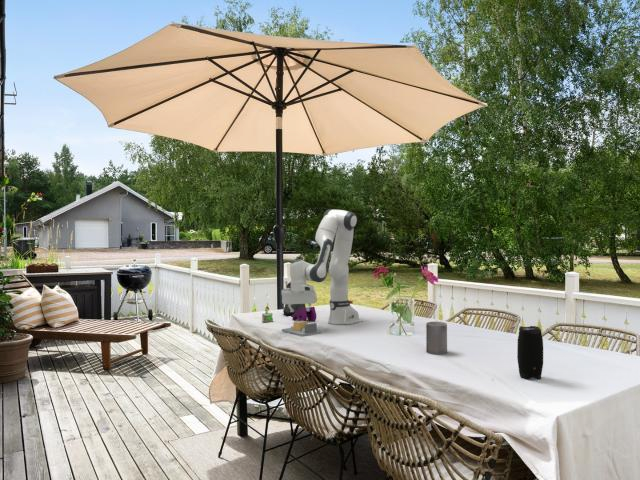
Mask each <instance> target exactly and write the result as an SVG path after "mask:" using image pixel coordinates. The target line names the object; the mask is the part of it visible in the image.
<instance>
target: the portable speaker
mask: <svg viewBox="0 0 640 480" xmlns="http://www.w3.org/2000/svg"><path fill="white" fill-rule="evenodd" d="M516 353H517V356H516V357H517V359H516V360H517V365H518V373H519V376H520V378H521V379H524V380H530V379H532V378H533V379H536V380H541V379H542V373H543V368H544V339H543V334H542V328H540V327H539V326H536V325H530V326H523V325H522V326H519V328H518V337H517V352H516Z"/></svg>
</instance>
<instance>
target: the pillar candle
mask: <svg viewBox="0 0 640 480" xmlns="http://www.w3.org/2000/svg"><path fill="white" fill-rule="evenodd" d="M425 325H426V327H425V328H426V330H425V333H426V337H425V340H426V341H425V344H426V347H425V348H426V350H425V351H426V352H425V353H427V354H431V355H438V356H439V355H445V354H447V353H448V323H446V322H444V321H437V320H436V321H429V322H426V324H425Z"/></svg>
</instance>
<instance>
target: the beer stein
mask: <svg viewBox="0 0 640 480" xmlns="http://www.w3.org/2000/svg"><path fill="white" fill-rule="evenodd" d="M285 288H291V281H289V282H288V283H287V284H286V285H285ZM291 307H292V309H294V312H291V311H290V308H289V307H288V304H284V307H283V310H282V312H283V316H284V315H285V316H284V317H288V316H291V317H290V318H292V315H293V314H294V313H296V312H297V311H298V310H300V309H301V308H307V307H306V304H291Z"/></svg>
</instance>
